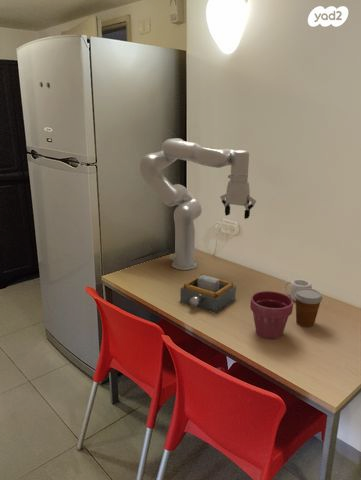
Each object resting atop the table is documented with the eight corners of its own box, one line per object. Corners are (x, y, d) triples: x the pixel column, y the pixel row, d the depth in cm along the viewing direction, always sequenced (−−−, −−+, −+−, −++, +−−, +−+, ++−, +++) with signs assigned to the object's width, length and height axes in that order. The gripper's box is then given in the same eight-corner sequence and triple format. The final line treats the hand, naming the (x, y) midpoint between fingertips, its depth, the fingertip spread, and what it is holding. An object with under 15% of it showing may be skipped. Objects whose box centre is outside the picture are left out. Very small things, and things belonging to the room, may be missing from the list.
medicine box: (219, 298, 160) (220, 279, 157) (213, 302, 156) (214, 282, 154) (202, 293, 164) (203, 274, 161) (196, 297, 160) (197, 278, 158)
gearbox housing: (175, 304, 156) (175, 287, 154) (200, 289, 171) (201, 273, 168) (211, 317, 147) (212, 299, 145) (235, 299, 161) (236, 282, 159)
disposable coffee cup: (288, 325, 142) (292, 295, 138) (294, 314, 150) (298, 285, 146) (316, 332, 138) (320, 301, 134) (320, 320, 146) (324, 290, 142)
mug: (314, 300, 161) (316, 283, 159) (302, 306, 156) (304, 288, 154) (290, 290, 170) (292, 273, 168) (277, 295, 165) (279, 278, 163)
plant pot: (260, 318, 147) (263, 286, 143) (296, 330, 139) (300, 297, 135) (240, 333, 136) (243, 300, 133) (278, 348, 128) (281, 313, 124)
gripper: (217, 177, 175) (216, 215, 180) (253, 182, 166) (250, 221, 171) (226, 176, 181) (224, 212, 186) (260, 179, 171) (257, 217, 177)
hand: (236, 216), depth 178 cm, fingers open, 9 cm apart
